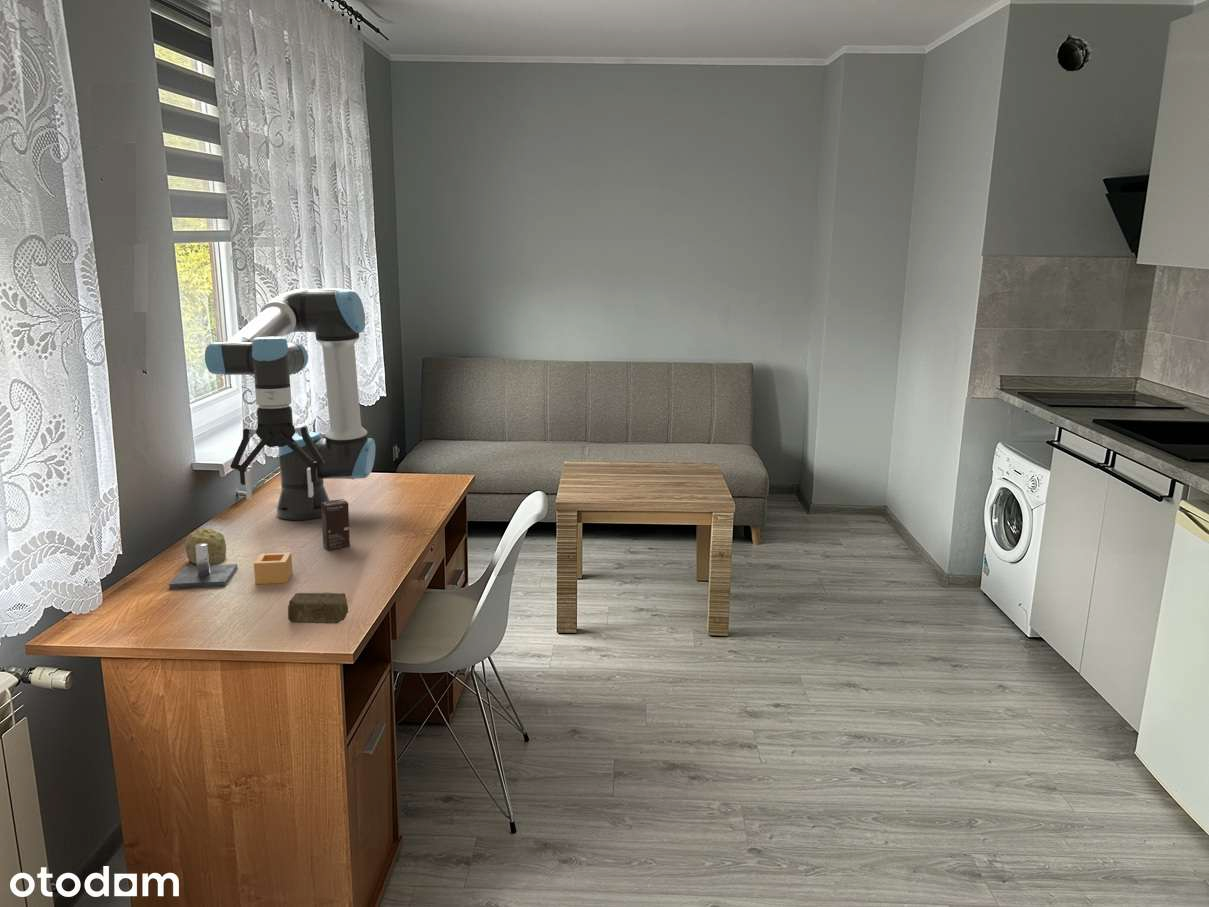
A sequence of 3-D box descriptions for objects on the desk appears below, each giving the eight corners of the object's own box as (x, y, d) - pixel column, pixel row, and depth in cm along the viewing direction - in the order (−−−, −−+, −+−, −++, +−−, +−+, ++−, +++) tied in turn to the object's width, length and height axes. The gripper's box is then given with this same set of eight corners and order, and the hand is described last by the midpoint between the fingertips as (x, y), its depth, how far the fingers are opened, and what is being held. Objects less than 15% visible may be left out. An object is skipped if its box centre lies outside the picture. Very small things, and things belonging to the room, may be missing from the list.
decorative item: (227, 574, 228) (241, 537, 232) (202, 562, 219) (216, 523, 223) (196, 571, 231) (210, 534, 235) (170, 558, 222) (185, 520, 226)
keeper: (185, 571, 219) (181, 538, 218) (237, 568, 221) (234, 536, 219) (169, 589, 208) (165, 554, 206) (225, 586, 210) (222, 552, 208)
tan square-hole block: (261, 573, 218) (260, 553, 217) (292, 572, 219) (291, 552, 218) (255, 584, 211) (253, 563, 210) (287, 582, 212) (285, 562, 211)
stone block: (296, 613, 195) (295, 591, 194) (350, 614, 195) (349, 591, 193) (286, 624, 189) (285, 601, 188) (342, 625, 189) (341, 602, 188)
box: (328, 551, 234) (325, 505, 232) (323, 546, 238) (319, 501, 235) (351, 547, 237) (348, 502, 235) (345, 542, 241) (343, 498, 239)
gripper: (211, 409, 202) (219, 503, 206) (329, 407, 206) (334, 498, 210) (219, 404, 209) (227, 495, 213) (333, 402, 213) (338, 491, 218)
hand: (280, 497), depth 212 cm, fingers open, 13 cm apart
